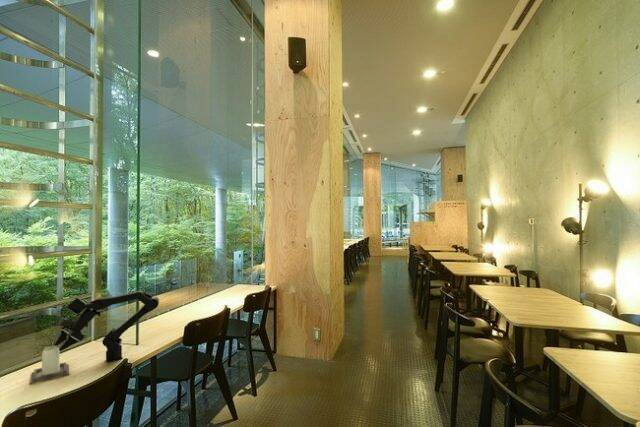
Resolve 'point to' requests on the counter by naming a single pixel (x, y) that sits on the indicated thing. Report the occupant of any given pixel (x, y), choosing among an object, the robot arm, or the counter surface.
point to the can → (50, 360)
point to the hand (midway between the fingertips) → (57, 348)
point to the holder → (38, 376)
